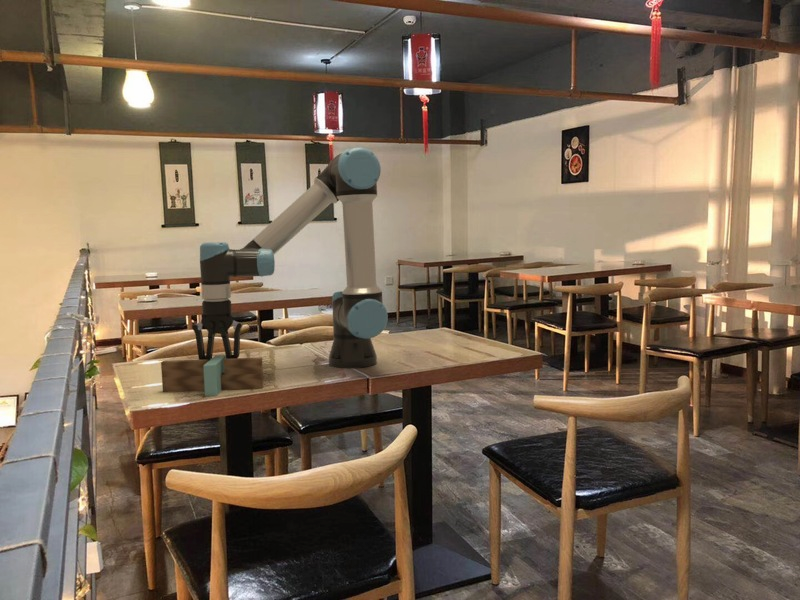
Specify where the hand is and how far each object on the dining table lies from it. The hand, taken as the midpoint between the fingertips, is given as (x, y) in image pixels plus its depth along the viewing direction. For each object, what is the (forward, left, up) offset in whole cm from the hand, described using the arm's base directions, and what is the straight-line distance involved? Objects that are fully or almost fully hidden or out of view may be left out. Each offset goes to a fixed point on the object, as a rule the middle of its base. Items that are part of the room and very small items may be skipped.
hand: (220, 384), depth 170 cm
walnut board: (+1, +4, 0) cm, 4 cm away
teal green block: (0, +4, 0) cm, 4 cm away
